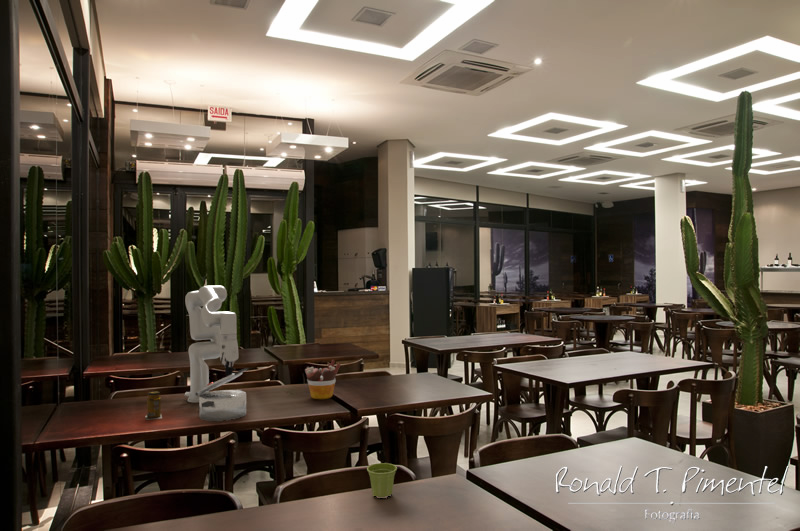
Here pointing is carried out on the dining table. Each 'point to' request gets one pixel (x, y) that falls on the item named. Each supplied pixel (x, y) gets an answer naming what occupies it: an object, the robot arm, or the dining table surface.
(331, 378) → the bucket of meat
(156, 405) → the condiment
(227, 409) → the cooker pot
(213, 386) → the cooker lid
